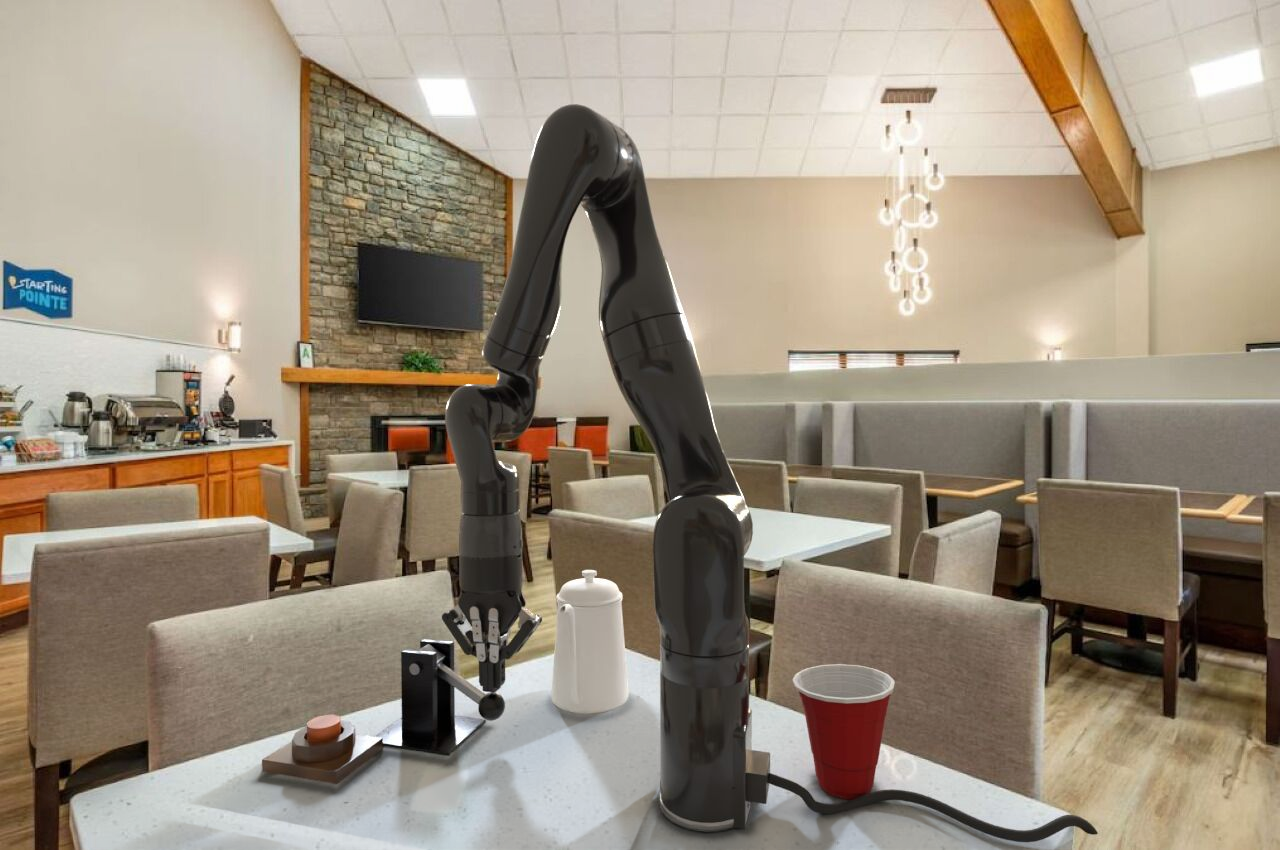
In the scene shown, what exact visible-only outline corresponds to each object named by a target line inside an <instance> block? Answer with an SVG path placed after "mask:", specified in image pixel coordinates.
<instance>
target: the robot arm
mask: <svg viewBox="0 0 1280 850" xmlns="http://www.w3.org/2000/svg"><path fill="white" fill-rule="evenodd" d="M644 171H645V170H644V166H643V162H642V158H641V155H640V152H639V149H638V147H637V145H636V143H635V142H634V140H633V139H632V136H630V135H629V133H627V132H626V130H624V129H623V128H622V127H621V126H619V125H617V124H616V123H615V122H613V121H611V120H609V118H607V117H605V116H603V115H602V114H600V113H599V112H597V111H595V110H593V109H592V108H591V107H589V106H586V105H582V104H578V103H572V104H571V103H570V104H567V105H563V106H560V107H559V108H557V109H556V110H554V111H553V112H552V113H551V114H550V115H549V116H548V117H547V118H546V119H545V121H544V122H543V124H542V126H541V127H540V130H539V132H538V134H537V137H536V140H535V144H534V148H533V150H532V154H531V158H530V163H529V169H528V173H527V179H526V185H525V190H524V195H523V201H522V203H521V204H522V205H521V209H520V214H519V219H518V225H517V231H516V235H515V241H514V246H513V250H512V254H511V260H510V263H509V268H508V271H507V275H506V279H505V282H504V285H503V289H502V291H501V294H500V298H499V300H498V303H497V306H496V308H495V311H494V313H493V316H492V320H491V321H490V324H489V327H488V330H487V332H486V333H487V334H486V335H485V338H484V341H483V344H482V350H481V356H482V358H483V361H484V362H485V363H486V364H487V365H488V366H489V367H491V368H492V369H493V370H495V371H497V372H498V373H497V380H496V382H495V384H479V383H477V384H475V383H473V384H472V383H470V384H469V383H468V384H464V385H461V386H459V387H458V388H456V389H454V391H453V392H452V393H451V395H450V397H449V399H448V400H447V403H446V407H445V412H444V413H445V414H444V421H445V429H446V434H447V437H448V440H449V444H450V448H451V452H452V455H453V459H454V463H455V465H456V466H455V467H456V469H457V473H458V476H459V481H460V520H459V528H458V554H459V555H458V561H459V563H458V567H459V568H458V571H459V572H458V574H459V576H458V577H459V587H460V594H459V596H458V598H457V605H455V606H454V607H453V608H451V609H450V610H448V611H445V612H444V613H443V614H442V615H441V620H442V621H443V623H444V625H445V626H446V628H447V629H448V631H449V632H450V634H451V636H452V637H453V638H454V640H455V641H456V643H457V644H458V645H459V646H460V649H461V650H462V651H463V653H464V654H465V655H466V656H473V657H475V658H476V659H477V661H478V683H479V686H480V687H482V692H484V693H485V692H486V693H491V692H494V693H497V691H499V690H500V689H501V688H502V686H503V685H505V682H506V660H510V659H511V658H512V657H513V656H514V655H516V654H518V653H519V652H520V651H521V650H522V648H523V647H524V646H525V644H527V642H528V640H529V639H530V638H531V637H532V635H533V634H534V633H535V632H536V630H537V629H538V627H539V626H540V625H541V624H542V622H543V616H542V615H541V614H539V613H536V614H534V613H532V611H531V610H530V609H529V608H527V607H526V606H527V605H526V599H525V597H524V594H523V579H524V577H523V546H524V539H523V527H522V520H521V511H520V510H521V509H520V508H521V507H520V506H521V505H520V504H521V503H520V474H519V470H518V469H517V467H516V466H515V465H513V464H512V463H509V462H504V461H500V460H499V459H498V456H497V453H496V450H495V447H494V443H507V442H513V441H515V440H517V439H519V438H521V436H523V435H524V434H525V432H527V429H528V428H529V426H530V425H531V423H532V420H533V418H534V415H535V410H536V403H537V396H538V386H539V379H540V366H541V363H542V362H543V359H544V356H545V354H546V351H547V348H548V346H549V343H550V342H551V339H552V335H553V333H554V331H555V329H556V326H557V323H558V319H559V316H560V310H561V304H562V283H563V281H562V280H563V279H562V269H563V255H564V248H565V244H566V239H567V235H568V231H569V229H570V226H571V223H572V221H573V219H574V217H575V214H576V212H577V210H578V208H579V207H580V205H581V207H582V208H583V210H584V212H585V214H586V217H587V220H588V221H589V224H590V226H591V230H592V232H593V235H594V238H595V241H596V245H597V247H598V251H599V256H600V264H601V265H600V266H601V275H600V276H601V277H600V287H599V297H598V298H599V299H598V320H599V321H598V323H599V330H600V333H601V338H602V342H603V345H604V348H605V351H606V354H607V355H606V356H607V358H608V361H609V365H610V368H611V371H612V374H613V376H614V379H615V381H616V384H617V386H618V388H619V391H620V392H621V395H622V397H623V398H624V400H625V403H626V404H627V406H628V408H629V410H630V411H631V413H632V414H633V416H634V418H635V419H636V421H637V422H638V424H639V426H640V428H641V429H642V431H643V432H644V433H645V436H646V437H647V439H648V441H649V443H650V445H651V447H652V449H653V451H654V453H655V456H656V458H657V462H658V465H659V467H660V472H661V475H662V479H663V482H664V487H665V492H666V496H667V500H668V502H667V503H666V504H665V505H664V506H663V507H662V509H661V510H660V511H659V514H658V516H657V517H656V520H655V522H654V523H655V524H654V528H653V534H652V535H653V536H652V574H653V575H652V580H653V603H654V605H653V606H654V613H655V618H656V621H657V623H658V625H659V626H658V627H659V669H660V670H659V671H660V672H659V679H660V680H659V706H660V707H659V723H660V724H659V726H660V727H659V728H660V729H659V735H660V737H659V739H660V740H659V741H660V742H659V743H660V745H659V746H660V748H659V752H660V753H659V755H660V756H659V758H660V760H659V761H660V762H659V766H660V767H659V768H660V780H659V808H660V811H661V813H662V814H663V816H665V818H666V819H668V820H669V821H670V822H672V823H673V824H675V825H677V826H680V827H682V828H684V829H688V830H692V831H697V832H710V833H711V832H721V831H726V830H729V829H733V828H737V829H745V828H747V824H748V823H747V821H748V818H749V815H750V810H751V803H756V804H762V805H767V801H768V795H769V788H770V785H772V786H775V787H777V788H780V789H782V790H786V791H788V792H791V793H793V794H795V795H796V796H798V797H800V798H801V800H802V801H803V802H804V804H805V805H806V807H807V808H809V810H811V811H812V812H814V813H816V814H821V815H836V814H841V813H844V812H848V811H852V810H855V809H859V808H862V807H866V806H869V805H871V804H875V803H879V802H884V801H902V802H909V803H913V804H916V805H921V806H924V807H926V808H929V809H931V810H934V811H936V812H939V813H941V814H943V815H945V816H947V817H949V818H951V819H953V820H955V821H956V822H959V823H961V824H962V825H965V826H968V827H970V828H971V829H974V830H975V831H978V832H981V833H983V834H986V835H989V836H991V837H994V838H997V839H1002V840H1006V841H1011V842H1017V843H1033V842H1034V843H1035V842H1039V841H1041V840H1045V839H1047V838H1050V837H1052V836H1054V835H1056V834H1057V833H1059V832H1061V831H1063V830H1065V829H1067V828H1070V827H1076V828H1079V829H1080V830H1082V831H1083V832H1084V833H1085V834H1087V835H1094V836H1095V835H1098V834H1099V831H1097V829H1096V828H1095V827H1094V826H1093V824H1092V823H1090V822H1089V821H1088V819H1087V820H1086V819H1085V818H1083V817H1081V816H1079V815H1075V814H1065V815H1061V816H1059V817H1057V818H1055V819H1053V820H1051V821H1049V822H1047V823H1046V824H1043V825H1041V826H1039V827H1036V828H1032V829H1025V830H1023V829H1012V828H1007V827H1002V826H999V825H995V824H992V823H989V822H987V821H984V820H981V819H980V818H977V817H974V816H972V815H970V814H967V813H966V812H964V811H962V810H959V809H957V808H956V807H954V806H952V805H949V804H947V803H945V802H943V801H941V800H938V799H936V798H933V797H930V796H928V795H926V794H922V793H919V792H914V791H909V790H904V789H881V790H880V789H879V790H875V791H871V793H868V794H865V795H862V796H859V797H857V798H854V799H848V800H846V801H843V802H838V803H824V802H821V801H817V800H815V798H814V797H813V795H812V794H811V792H809V790H808V789H806V788H805V787H803V786H802V785H800V784H798V783H797V782H795V781H793V780H790V779H789V778H785V777H782V776H779V775H776V774H774V773H771V752H769V751H762V750H761V751H760V750H753V741H752V740H753V734H752V733H753V715H752V714H753V710H752V708H751V707H750V620H749V618H748V616H747V613H746V607H745V555H746V554H747V553H748V551H749V549H750V547H751V544H752V541H753V535H754V523H753V518H752V515H751V511H750V509H749V507H748V504H747V501H746V500H745V497H744V495H743V493H742V491H741V489H740V486H739V484H738V481H737V479H736V476H735V474H734V472H733V470H732V467H731V465H730V463H729V461H728V460H729V459H728V458H727V455H726V453H725V451H724V448H723V446H722V443H721V440H720V438H719V434H718V432H717V429H716V425H715V421H714V416H713V411H712V407H711V403H710V399H709V394H708V391H707V388H706V384H705V380H704V376H703V372H702V369H701V365H700V362H699V358H698V354H697V350H696V347H695V343H694V340H693V337H692V333H691V331H690V328H689V324H688V322H687V321H688V320H687V317H686V315H685V312H684V309H683V306H682V304H681V301H680V298H679V295H678V293H677V289H676V287H675V283H674V280H673V277H672V274H671V271H670V268H669V264H668V261H667V258H666V256H665V253H664V251H663V248H662V245H661V242H660V238H659V235H658V232H657V228H656V224H655V221H654V216H653V211H652V205H651V200H650V196H649V192H648V186H647V181H646V176H645V172H644ZM518 619H519V620H518ZM517 620H518V622H517V628H518V630H517V632H516V634H515V635H514V636H513V637H512V639H511V640H510V642H509V638H510V636H511V630H512V629H511V628H512V627H513V626H514V624H515V623H516V621H517Z"/></svg>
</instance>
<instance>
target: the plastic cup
mask: <svg viewBox="0 0 1280 850" xmlns="http://www.w3.org/2000/svg"><path fill="white" fill-rule="evenodd" d="M792 682H793V685H794V688H795V689H796V691H798V695H799V697H800V701H801V704H802V707H803V711H804V716H805V722H806V728H807V733H808V734H807V735H808V739H809V746H810V750H811V753H812V759H813V765H814V771H815V775H816V778H817V782H818V783H817V784H818V785H819V787H820V788H821V789H822V790H823V791H824V792H825V793H826V794H829V795H831V796H833V797H836V798H840V799H845V800H852V799H854V798H857V797H859V796H862V795H865V794H868V793H871V792H872V789H873V788H874V787H873V786H874V782H875V776H876V771H877V770H876V769H877V765H878V763H879V758H880V752H881V745H882V740H883V733H884V728H885V727H884V726H885V720H886V717H887V712H888V707H889V702H890V697H891V695H892V694H893V693H894V689H895V688H894V687H895V682H896V681H895V680H894V679H893V677H892V676H890V675H889V674H888V673H886V672H883V671H881V670H879V669H876V668H872V667H868V666H864V665H859V664H845V663H835V664H834V663H833V664H832V663H831V664H820V665H816V666H811V667H807V668H805V669H802V670H800V671H799V672H795V674H794V676H793V678H792Z"/></svg>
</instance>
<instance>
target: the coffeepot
mask: <svg viewBox="0 0 1280 850" xmlns="http://www.w3.org/2000/svg"><path fill="white" fill-rule="evenodd" d="M597 574H598V571H597V570H594V569H584V570H582V571H581V576H582V578H576V579H572V580H569V581H567V582H565V583H564V584H563V585H562V586H561V588H560V590H559V592H557V594H556V596H555V597H556V600H555V601H556V603H557V608H556V622H555V623H556V625H555V637H554V638H555V639H554V650H553V651H554V652H553V666H552V679H551V680H552V682H551V701H552V704H553V705H554V706H556V707H557V708H559V709H561V710H563V711H566V712H571V713H575V714H597V713H604V712H608V711H612V710H615V709H617V708H619V707H621V706H623V705H624V704H625V703H626V702H627V701H628V699H629V683H628V681H629V680H628V669H627V658H626V645H625V644H626V643H625V632H624V631H625V630H624V619H623V618H624V617H623V605H622V601H623V595H624V594H623V592H622V591H620V589H619V586H618V585H617V584H616V583H615V582H613V581H612V580H609V579H605V578H600V577H596V576H597Z"/></svg>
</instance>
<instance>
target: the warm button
mask: <svg viewBox="0 0 1280 850" xmlns="http://www.w3.org/2000/svg"><path fill="white" fill-rule="evenodd" d="M341 721H342V718H341V716H339V715H338V714H324V715H319V716H316V717H313V718H312V719H310V720H308V722H307V723H306V726H307V741H311V742H321V741H327V740H330V739H333V738H336V737H337V736H339V735H340V734H341Z"/></svg>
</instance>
